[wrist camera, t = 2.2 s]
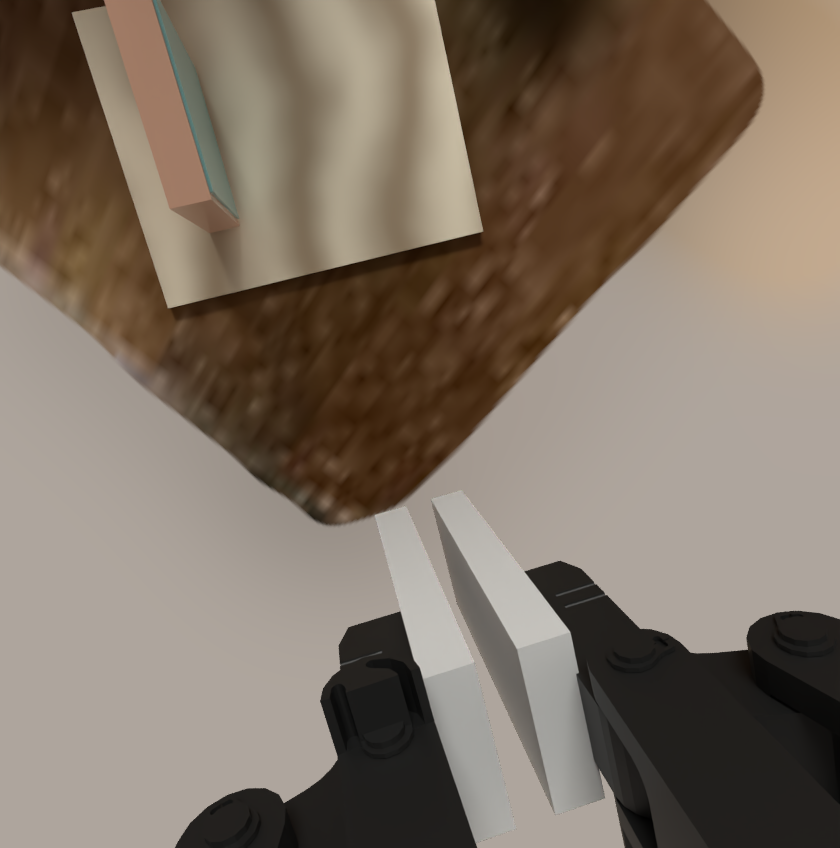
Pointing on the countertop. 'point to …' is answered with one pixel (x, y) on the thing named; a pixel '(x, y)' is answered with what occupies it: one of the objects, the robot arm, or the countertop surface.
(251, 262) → the cloth
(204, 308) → the countertop surface
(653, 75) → the countertop surface
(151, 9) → the tile
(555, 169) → the countertop surface
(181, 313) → the countertop surface
